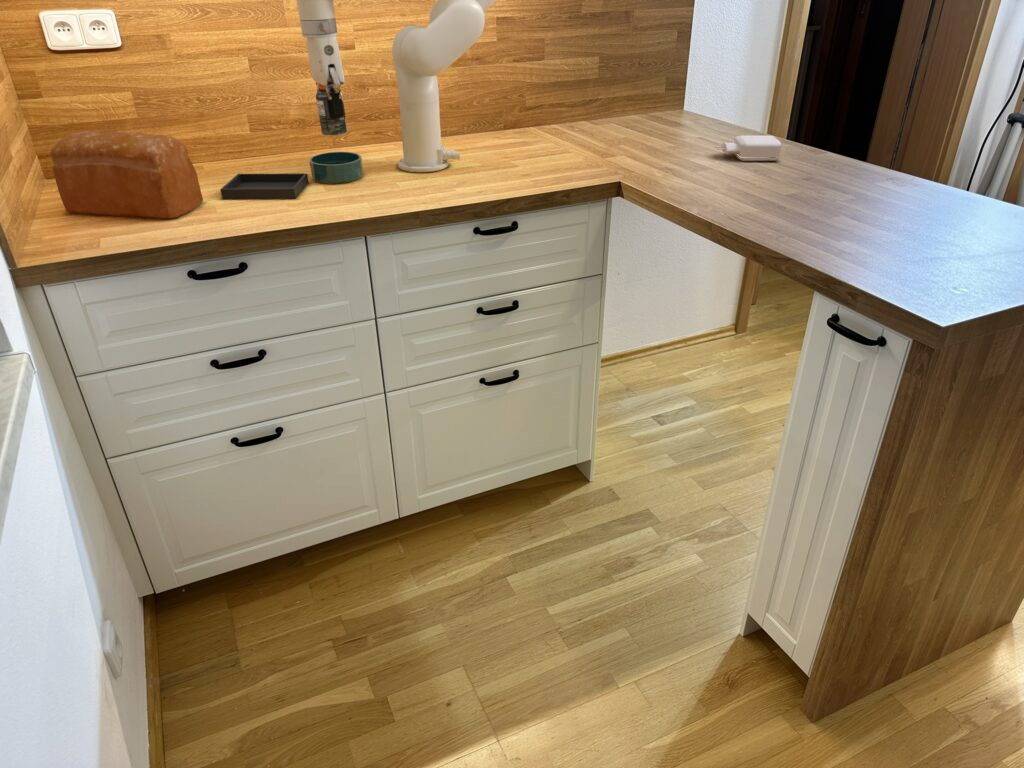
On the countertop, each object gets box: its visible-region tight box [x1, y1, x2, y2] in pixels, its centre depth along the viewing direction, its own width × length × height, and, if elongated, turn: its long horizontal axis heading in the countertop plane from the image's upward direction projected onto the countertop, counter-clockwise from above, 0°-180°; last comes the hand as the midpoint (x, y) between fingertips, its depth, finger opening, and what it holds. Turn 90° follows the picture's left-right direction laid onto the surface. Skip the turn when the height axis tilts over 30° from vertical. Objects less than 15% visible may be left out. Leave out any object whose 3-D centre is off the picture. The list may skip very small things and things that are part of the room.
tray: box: [219, 172, 310, 200], centre depth 165 cm, size 16×12×2 cm
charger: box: [714, 135, 782, 162], centre depth 187 cm, size 5×9×15 cm
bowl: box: [308, 151, 364, 185], centre depth 174 cm, size 12×12×4 cm
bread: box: [49, 130, 204, 219], centre depth 152 cm, size 14×26×16 cm, turn 80°
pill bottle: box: [315, 82, 349, 137], centre depth 167 cm, size 6×6×11 cm
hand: (332, 114), depth 167 cm, fingers closed on pill bottle, 6 cm apart
